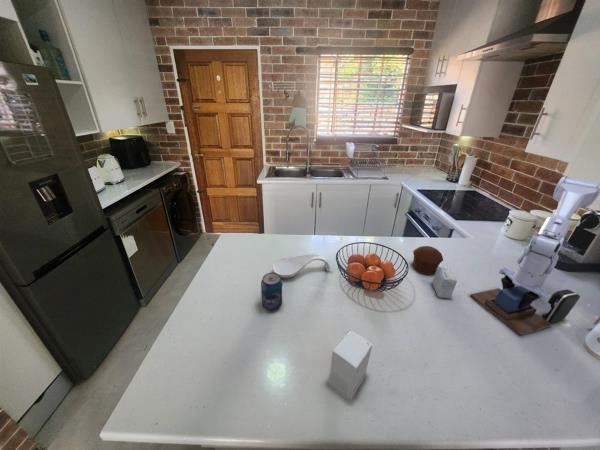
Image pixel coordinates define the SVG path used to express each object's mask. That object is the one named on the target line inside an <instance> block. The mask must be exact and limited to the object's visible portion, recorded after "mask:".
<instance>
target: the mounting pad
mask: <svg viewBox="0 0 600 450" xmlns="http://www.w3.org/2000/svg"><path fill="white" fill-rule="evenodd" d="M500 290H501V288H495V289H494V288H493V289H490V290H485V291H481V292H476V293H471V294H470V297H471V298H472V299H473V300H474V301H476V302H477V303H478V304H479V305H481V307H483V308H484V309H485V310H487V312H489V313H491V314H492V315H493V316H494V317H495V318H497V319H498V320H499V321H501V323H503V324H505V326H507V328H509V329H510V330H512V331H513V332H514V333H516V335H518V336H519V337H520V336H524V335H527V334H530V333H535V332H538V331H541V330H545V329H548V328H551V327H552V326H553V324H552V323H551V322H548V321H546V320H545V319H544V318H543V317H542V316H540V315H539V314H537V313H536V312H537V310H538V309H537V308H536V307H534V306H533V305H532V304H531V305H530V307H529V308H527V309H523V310H519V311H515V312H511V313H506V312H505V311H503V310H502V309H501V308H499V307H498V306H497V305H496V304H494V303H493V302H494V300H495V298H496V296H497V294H498V293H499V291H500Z"/></svg>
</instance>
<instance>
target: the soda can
mask: <svg viewBox="0 0 600 450" xmlns="http://www.w3.org/2000/svg"><path fill="white" fill-rule="evenodd" d="M260 292H261V293H260V294H261V295H260V296H261V306H262V308H263V309H264V310H265V311H267V312H268V313H269V312H270V313H273V312H277V311H278V310H279V309H280V308H281V307H282V305H283V280H282V277H280V276H279V275H278V274H276V273H275V272H268V273H265V274H264V275H263V276H262V279H261V281H260Z"/></svg>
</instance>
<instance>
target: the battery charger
mask: <svg viewBox="0 0 600 450" xmlns="http://www.w3.org/2000/svg"><path fill="white" fill-rule="evenodd" d="M580 298H581V295H579V294H578V293H576V292H574V291H572V290H571V289H561V290H556V291H554V292H553V293H552V294H551V298H550V299H549V300H548V301H547V303H548V304H549V305H550V309H549V310H548V312H546V313H543V314H541V318H543V319H544V320H546V321H547V322H549V323H556V322H560V321H564V320H566V317H567V316H568V315H569V313H570V312H571V311H572V309H574V307H575V305H576V304H577V303H578V301H579V300H580Z"/></svg>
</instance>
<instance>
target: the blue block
mask: <svg viewBox="0 0 600 450" xmlns="http://www.w3.org/2000/svg"><path fill="white" fill-rule="evenodd" d="M500 289H501V288H500ZM526 292H530V291H529V290H527V289H525V288H523V287H521V286H516V287H511V288H506V289H503V288H502V289H501V290H500V291H499V293H498V294H497V296H496V298H495V300H494V302H493V303H494V304H496V305H497V306H498V307H499V308H501V309H502V310H503V311H505V312H506V313H511V312H515V311H519V310H523V309H527V308H529V307H530V305H531V306H532V304H533V302H531V303H530V304H528V305H527V306H526V307H525V308H523V309H519V308H518V307H519V304H520V303H521V301H522V299H523V294H524V293H526Z"/></svg>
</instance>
